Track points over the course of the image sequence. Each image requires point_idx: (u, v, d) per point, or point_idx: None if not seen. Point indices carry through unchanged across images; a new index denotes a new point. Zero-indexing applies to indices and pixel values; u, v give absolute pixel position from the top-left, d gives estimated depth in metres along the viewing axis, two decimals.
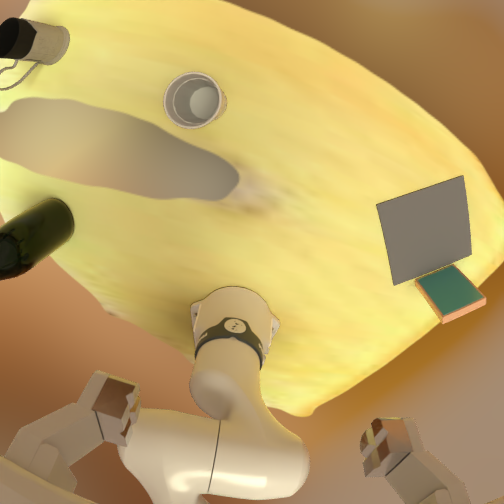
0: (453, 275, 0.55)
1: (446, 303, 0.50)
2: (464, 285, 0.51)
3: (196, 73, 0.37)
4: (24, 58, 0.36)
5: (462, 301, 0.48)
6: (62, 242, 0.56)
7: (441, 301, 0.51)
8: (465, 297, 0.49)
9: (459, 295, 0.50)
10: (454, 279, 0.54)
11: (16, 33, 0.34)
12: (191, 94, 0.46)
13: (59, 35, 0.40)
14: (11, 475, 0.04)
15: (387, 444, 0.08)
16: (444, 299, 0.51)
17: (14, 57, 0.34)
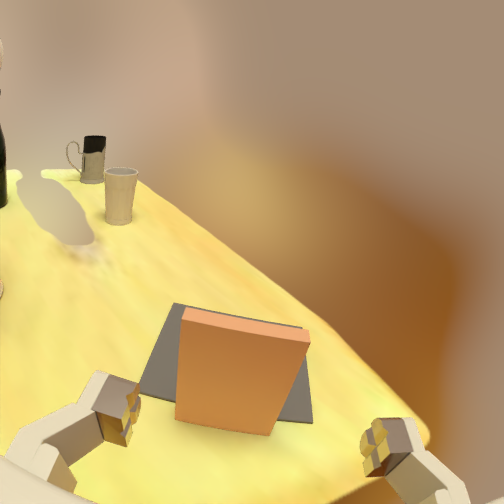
0: None
1: None
2: None
3: (134, 169, 0.69)
4: (85, 154, 0.88)
5: None
6: None
7: None
8: None
9: None
10: None
11: None
12: None
13: (100, 173, 0.94)
14: (11, 475, 0.04)
15: (387, 444, 0.08)
16: None
17: (86, 146, 0.87)
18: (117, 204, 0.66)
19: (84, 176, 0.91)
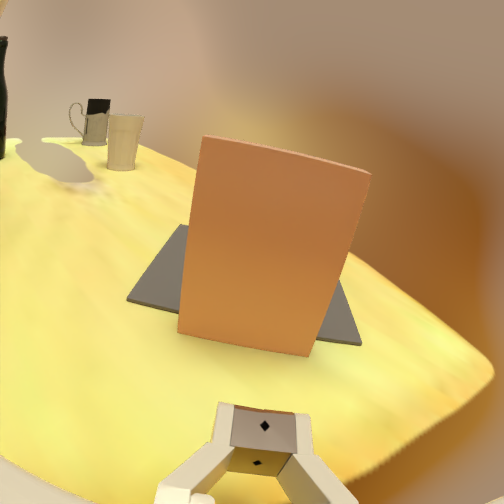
0: None
1: None
2: None
3: (140, 115, 0.63)
4: (88, 116, 0.82)
5: None
6: None
7: None
8: None
9: None
10: None
11: None
12: None
13: (103, 136, 0.88)
14: (11, 475, 0.04)
15: (264, 439, 0.08)
16: None
17: (89, 108, 0.82)
18: (120, 147, 0.60)
19: (86, 138, 0.85)
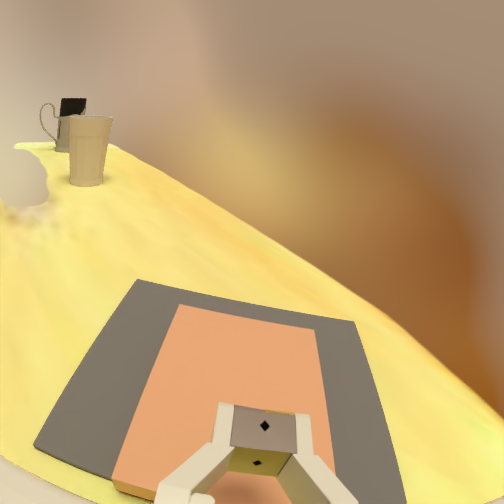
0: None
1: None
2: None
3: (109, 116, 0.49)
4: (61, 118, 0.69)
5: None
6: None
7: None
8: None
9: None
10: None
11: None
12: None
13: None
14: (11, 475, 0.04)
15: (264, 439, 0.08)
16: None
17: (62, 108, 0.68)
18: (83, 157, 0.46)
19: (59, 143, 0.72)
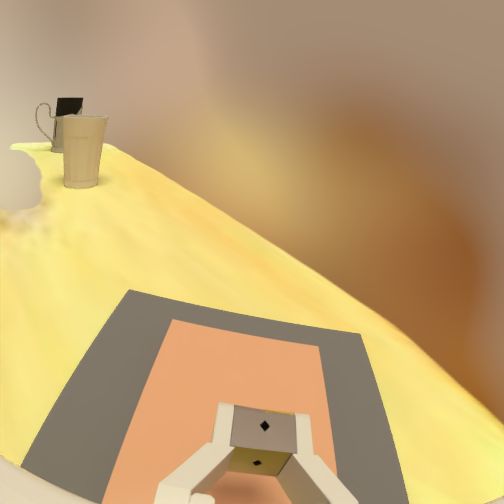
0: None
1: None
2: None
3: (104, 116, 0.47)
4: (57, 118, 0.67)
5: None
6: None
7: None
8: None
9: None
10: None
11: None
12: None
13: None
14: (11, 475, 0.04)
15: (264, 439, 0.08)
16: None
17: (58, 108, 0.66)
18: (77, 159, 0.44)
19: (55, 144, 0.70)
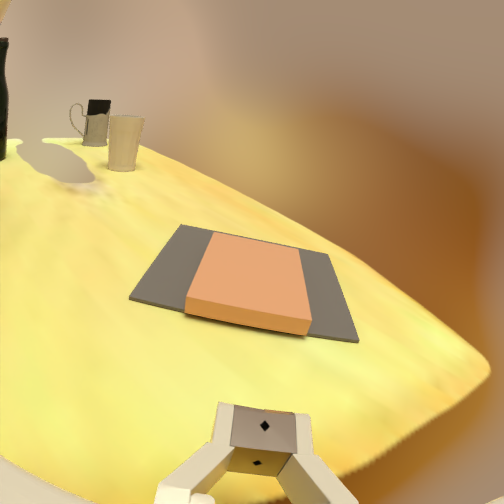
0: None
1: None
2: None
3: (140, 116, 0.64)
4: (89, 116, 0.83)
5: None
6: None
7: None
8: None
9: None
10: None
11: None
12: None
13: (103, 136, 0.88)
14: (11, 475, 0.04)
15: (264, 439, 0.08)
16: None
17: (90, 108, 0.82)
18: (121, 148, 0.60)
19: (86, 139, 0.86)
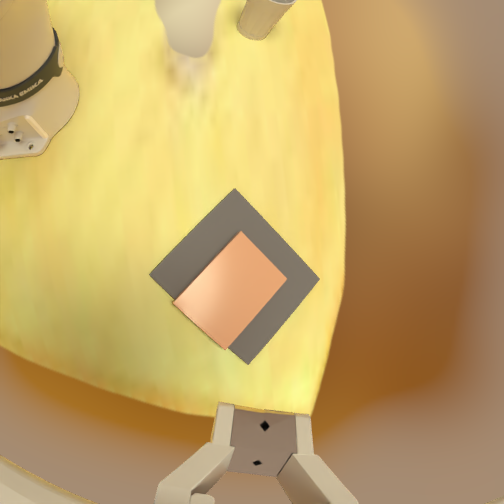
0: None
1: None
2: None
3: None
4: None
5: None
6: None
7: None
8: None
9: None
10: None
11: None
12: None
13: None
14: (11, 475, 0.04)
15: (264, 439, 0.08)
16: None
17: None
18: (254, 21, 0.46)
19: None
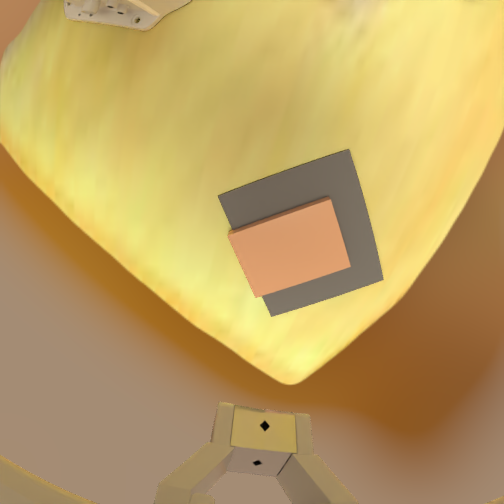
0: None
1: None
2: None
3: None
4: None
5: None
6: None
7: None
8: None
9: None
10: None
11: None
12: None
13: None
14: (11, 475, 0.04)
15: (264, 439, 0.08)
16: None
17: None
18: None
19: None
